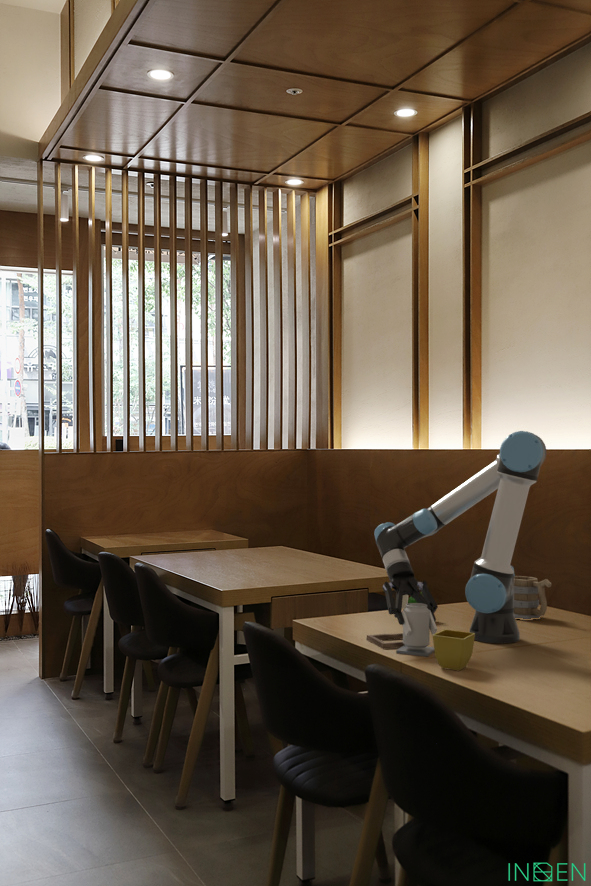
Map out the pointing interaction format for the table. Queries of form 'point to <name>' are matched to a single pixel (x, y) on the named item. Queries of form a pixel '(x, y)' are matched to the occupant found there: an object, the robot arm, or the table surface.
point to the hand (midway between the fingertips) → (421, 632)
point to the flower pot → (453, 648)
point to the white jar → (417, 625)
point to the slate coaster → (415, 651)
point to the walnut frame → (378, 637)
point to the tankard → (529, 597)
